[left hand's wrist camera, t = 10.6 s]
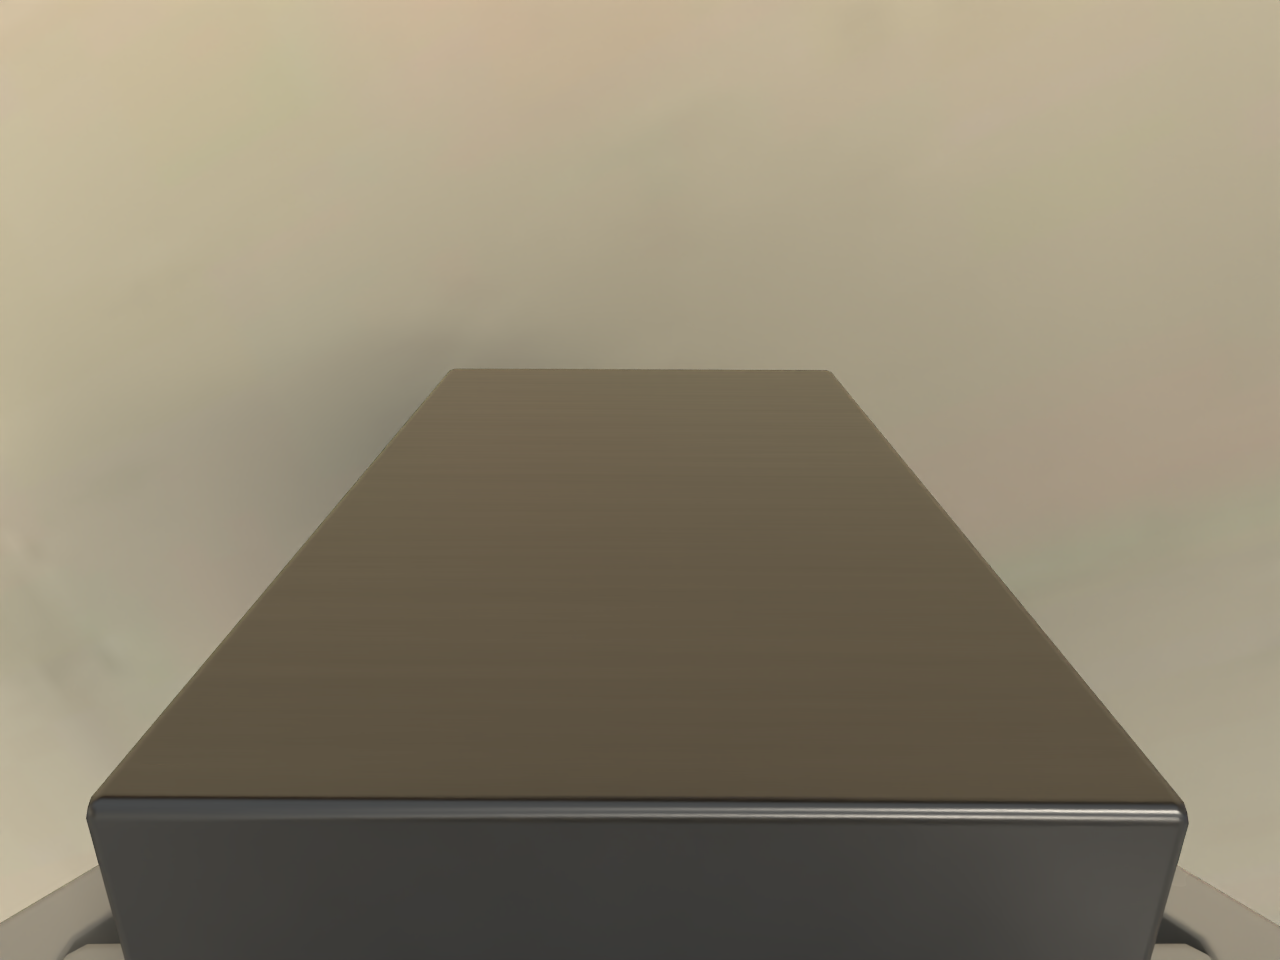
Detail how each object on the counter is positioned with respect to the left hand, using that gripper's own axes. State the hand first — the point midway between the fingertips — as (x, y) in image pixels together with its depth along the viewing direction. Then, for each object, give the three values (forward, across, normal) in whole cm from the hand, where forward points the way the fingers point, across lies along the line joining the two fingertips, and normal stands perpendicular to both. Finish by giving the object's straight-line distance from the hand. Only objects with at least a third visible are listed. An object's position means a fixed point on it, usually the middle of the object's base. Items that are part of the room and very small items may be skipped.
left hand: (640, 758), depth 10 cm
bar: (+3, 0, -9) cm, 10 cm away
